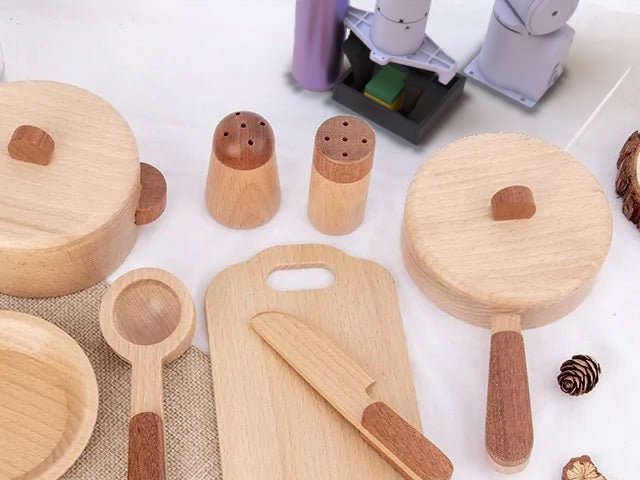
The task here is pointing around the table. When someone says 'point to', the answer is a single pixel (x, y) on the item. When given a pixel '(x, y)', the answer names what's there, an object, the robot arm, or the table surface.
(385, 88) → the sponge
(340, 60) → the beverage can
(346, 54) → the robot arm
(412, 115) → the tray
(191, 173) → the table surface
